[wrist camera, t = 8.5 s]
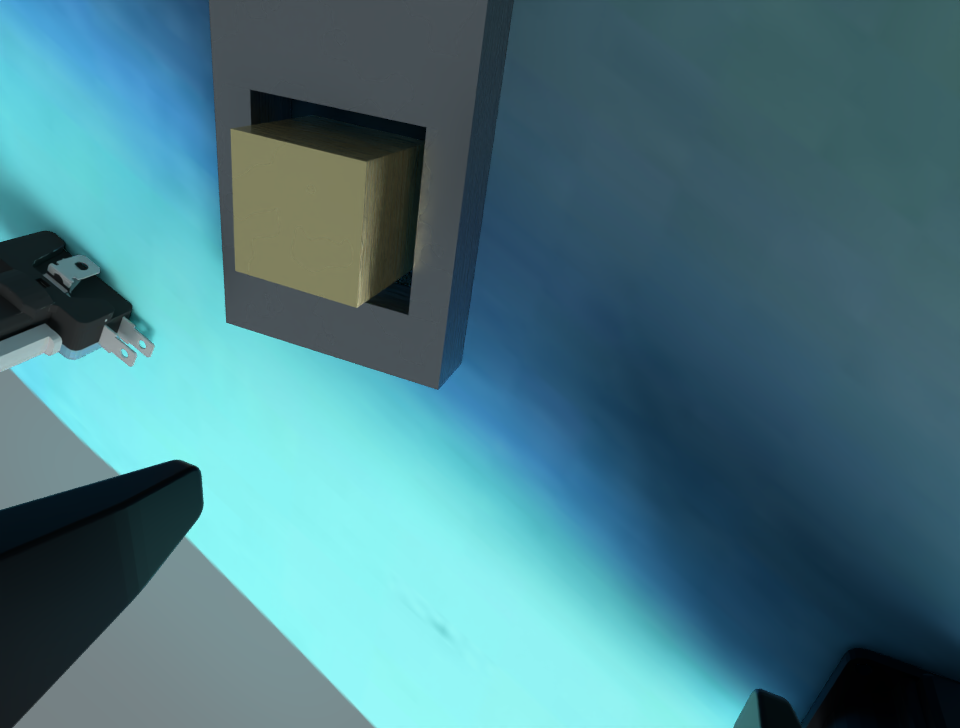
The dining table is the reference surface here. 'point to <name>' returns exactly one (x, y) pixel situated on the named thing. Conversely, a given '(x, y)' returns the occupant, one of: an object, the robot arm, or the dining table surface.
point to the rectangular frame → (387, 94)
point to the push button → (59, 305)
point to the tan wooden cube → (325, 205)
